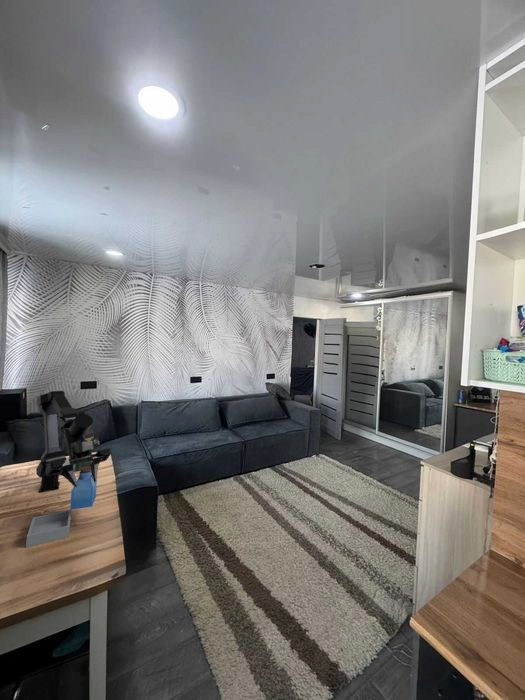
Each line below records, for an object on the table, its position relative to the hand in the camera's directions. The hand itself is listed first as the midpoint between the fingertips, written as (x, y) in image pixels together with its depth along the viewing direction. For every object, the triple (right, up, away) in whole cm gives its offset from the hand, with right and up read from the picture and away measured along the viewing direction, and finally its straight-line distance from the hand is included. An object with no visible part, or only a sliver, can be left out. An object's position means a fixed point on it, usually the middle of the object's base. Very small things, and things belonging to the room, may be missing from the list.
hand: (86, 483), depth 92 cm
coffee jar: (-29, -12, +40) cm, 51 cm away
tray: (-8, -13, -6) cm, 16 cm away
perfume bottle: (-2, -7, +1) cm, 8 cm away
